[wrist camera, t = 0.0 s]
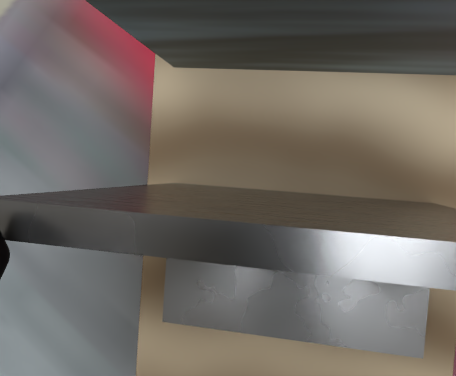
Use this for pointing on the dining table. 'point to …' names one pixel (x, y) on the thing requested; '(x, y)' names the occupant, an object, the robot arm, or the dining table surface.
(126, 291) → the dining table surface
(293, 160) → the book shelf
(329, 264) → the bookend
